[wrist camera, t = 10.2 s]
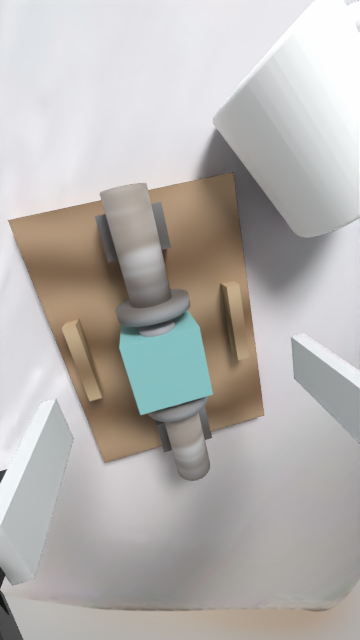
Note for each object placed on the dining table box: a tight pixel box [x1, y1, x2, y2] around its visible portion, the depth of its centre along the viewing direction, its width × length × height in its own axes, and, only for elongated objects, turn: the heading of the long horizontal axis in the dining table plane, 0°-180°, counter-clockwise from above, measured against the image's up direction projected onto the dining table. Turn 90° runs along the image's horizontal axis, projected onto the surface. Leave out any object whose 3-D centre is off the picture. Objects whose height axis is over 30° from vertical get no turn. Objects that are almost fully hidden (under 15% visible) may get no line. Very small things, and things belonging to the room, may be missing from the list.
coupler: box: [119, 310, 213, 415], centre depth 21 cm, size 6×5×6 cm
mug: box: [213, 0, 360, 237], centre depth 18 cm, size 12×10×8 cm
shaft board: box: [8, 172, 264, 481], centre depth 21 cm, size 22×16×7 cm
